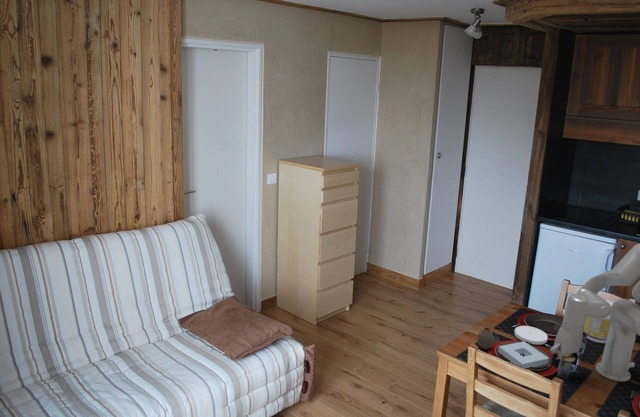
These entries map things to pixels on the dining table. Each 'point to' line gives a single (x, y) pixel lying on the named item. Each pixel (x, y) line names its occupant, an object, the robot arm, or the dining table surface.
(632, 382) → the dining table surface
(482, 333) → the vase
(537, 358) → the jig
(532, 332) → the plastic lid
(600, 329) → the supplement tub
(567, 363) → the gold lidded jar
